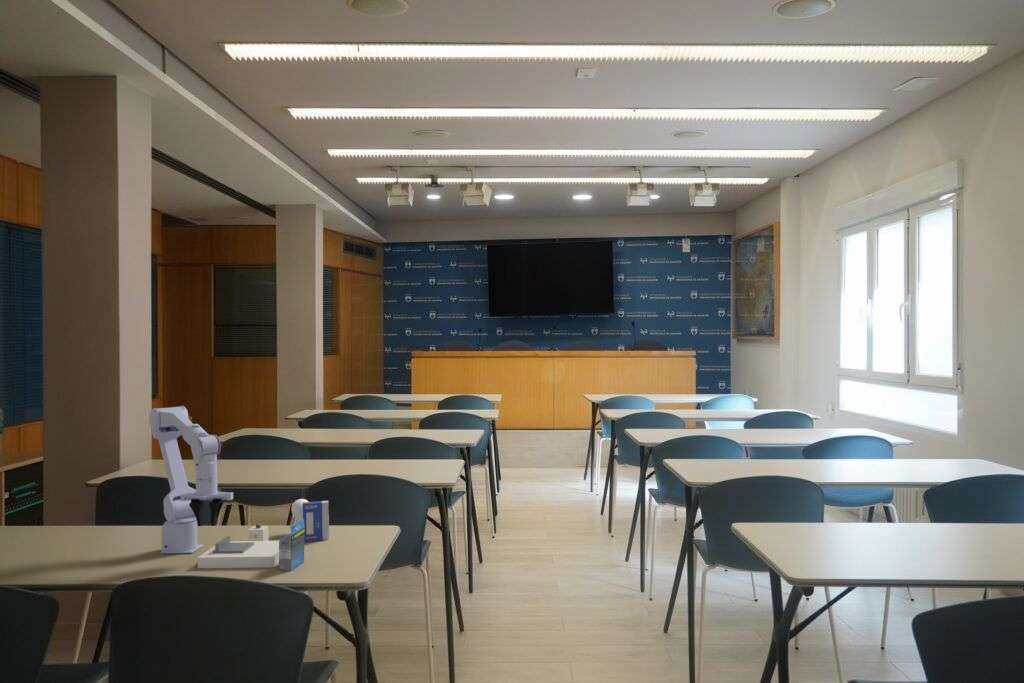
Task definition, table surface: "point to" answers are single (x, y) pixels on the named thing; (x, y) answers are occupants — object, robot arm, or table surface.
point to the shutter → (231, 546)
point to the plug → (258, 533)
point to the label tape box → (292, 548)
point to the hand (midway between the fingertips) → (207, 525)
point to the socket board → (243, 556)
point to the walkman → (316, 520)
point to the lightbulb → (298, 510)
